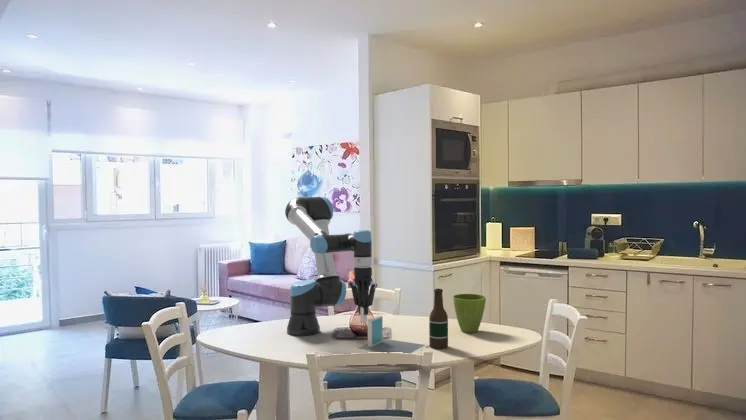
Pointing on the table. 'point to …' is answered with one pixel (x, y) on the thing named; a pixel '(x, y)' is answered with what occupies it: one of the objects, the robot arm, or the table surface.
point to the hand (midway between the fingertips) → (363, 322)
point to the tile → (375, 330)
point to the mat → (393, 346)
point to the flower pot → (469, 311)
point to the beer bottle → (438, 323)
